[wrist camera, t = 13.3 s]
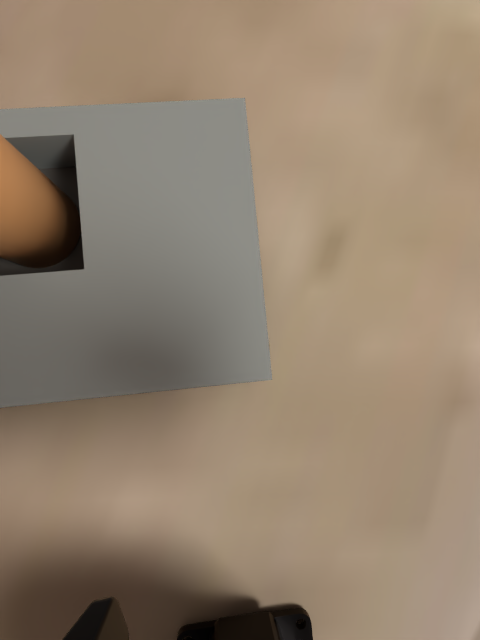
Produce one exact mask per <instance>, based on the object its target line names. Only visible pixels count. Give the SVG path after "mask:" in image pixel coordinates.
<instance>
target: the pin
mask: <svg viewBox="0 0 480 640" xmlns="http://www.w3.org/2000/svg"><path fill="white" fill-rule="evenodd" d="M80 232H81V220H80V215H79V212H78V210H77V207H76V206H75V204H74V203H73V201H72V200H71V199H70V198H69V197H68V196H67V195H66V194H65V193H64V192H63V191H62V190H61V189H60V188H58V187H57V186H56V185H55V184H54V183H53V182H52V181H51V180H50V179H49V178H48V177H46V176H45V175H44V174H43V173H42V172H41V171H40V170H39V169H38V168H37V167H36V166H34V165H33V164H32V163H31V162H30V161H29V160H28V159H27V158H26V157H25V156H24V155H22V154H21V153H20V152H19V151H18V150H17V149H16V148H15V147H14V146H13V145H12V144H11V143H9V142H8V141H7V140H6V139H5V138H4V137H3V136H2V135H1V134H0V257H1V258H3V259H6V260H9V261H11V262H14V263H17V264H19V265H22V266H25V267H29V268H46V267H50V266H53V265H55V264H57V263H59V262H61V261H62V260H64V259H65V258H66V257H67V256H68V255H70V253H71V252H72V251H73V250H74V248H75V246H76V245H77V242H78V240H79V237H80Z"/></svg>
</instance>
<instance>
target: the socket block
mask: <svg viewBox="0 0 480 640" xmlns="http://www.w3.org/2000/svg"><path fill="white" fill-rule="evenodd" d="M0 134H1V135H2V136H3V137H4V138H5V139H6V140H7V141H8V142H9V143H11V144H12V145H13V146H14V147H15V148H16V149H17V150H18V151H19V152H20V153H21V154H22V155H24V156H25V157H26V158H27V159H28V160H29V161H30V162H31V163H32V164H33V165H34V166H36V167H37V168H38V169H39V170H40V171H41V172H42V173H43V174H44V175H45V176H46V177H48V178H49V179H50V180H51V181H52V182H53V183H54V184H55V185H56V186H57V187H58V188H60V189H61V190H62V191H63V192H64V193H65V194H66V195H67V196H68V197H69V198H70V199H71V200H72V201H73V203H74V204H75V206H76V207H77V210H78V212H79V215H80V220H81V232H80V237H79V240H78V242H77V245H76V246H75V248H74V250H73V251H72V252H71V253H70V255H68V256H67V257H66V258H65V259H64V260H62V261H61V262H59V263H57V264H55V265H53V266H50V267H46V268H29V267H25V266H22V265H19V264H17V263H14V262H11V261H9V260H6V259H3V258H1V257H0V408H3V407H13V406H23V405H32V404H42V403H52V402H61V401H71V400H81V399H90V398H100V397H110V396H120V395H129V394H139V393H149V392H158V391H168V390H178V389H187V388H197V387H207V386H217V385H226V384H236V383H246V382H255V381H265V380H272V373H271V362H270V352H269V342H268V331H267V321H266V311H265V300H264V290H263V280H262V269H261V259H260V249H259V238H258V228H257V218H256V207H255V197H254V187H253V176H252V166H251V156H250V145H249V135H248V125H247V115H246V104H245V98H232V99H211V100H189V101H168V102H147V103H125V104H104V105H82V106H61V107H39V108H18V109H0Z"/></svg>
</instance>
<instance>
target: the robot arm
mask: <svg viewBox="0 0 480 640" xmlns="http://www.w3.org/2000/svg"><path fill="white" fill-rule="evenodd" d="M298 619H304V621H303V622H302V623H301V624H297V623H296V622H297V620H298ZM185 636H190V637H191V638H192V639H191V640H313V636H312V626H311V620H310V617H309V615H308V613H307V611H306V610H304V609H302V608H296V609H289V610H282V611H276V612H268V611H265V612H258V613H251V614H244V615H238V616H231V617H224V618H219V619H218V620H215V621H209V622H202V623H195V624H189V625H185V626H183V627H182V628H180V630H179V632H178V636H177V640H184V639H183V638H184V637H185ZM62 640H129V633H128V628H127V625H126V622H125V619H124V616H123V614H122V611H121V608H120V605H119V602H118V600H117V599H116V597H112V596H111V597H107V598H102V599H98V600H95V601H93V602H92V603H91V604H90V605H89V607H88V608H87V609H86V610H85V612H84V613H83V614H82V615H81V617H80V618H79V619H78V620H77V622H76V623H75V624H74V626H73V627H72V628H71V629H70V631H69V632H68V633H67V634H66V636H65V637H64V638H63V639H62Z"/></svg>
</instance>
